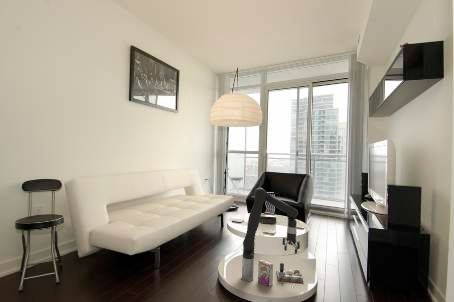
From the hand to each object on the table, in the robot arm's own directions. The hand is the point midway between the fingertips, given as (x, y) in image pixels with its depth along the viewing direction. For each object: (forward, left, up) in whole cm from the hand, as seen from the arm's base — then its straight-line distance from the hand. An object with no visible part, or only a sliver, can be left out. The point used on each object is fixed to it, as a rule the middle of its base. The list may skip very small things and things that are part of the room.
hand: (290, 252), depth 194 cm
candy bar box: (-21, -8, -23) cm, 32 cm away
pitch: (0, +6, -23) cm, 24 cm away
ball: (+2, +8, -20) cm, 21 cm away
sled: (-7, +5, -21) cm, 23 cm away
